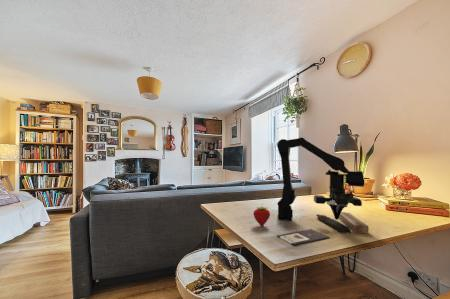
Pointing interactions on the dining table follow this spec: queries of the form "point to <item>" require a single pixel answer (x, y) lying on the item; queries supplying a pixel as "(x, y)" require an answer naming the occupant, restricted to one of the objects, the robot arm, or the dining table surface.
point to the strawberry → (261, 215)
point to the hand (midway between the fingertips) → (336, 219)
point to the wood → (334, 224)
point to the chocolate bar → (302, 237)
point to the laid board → (353, 223)
